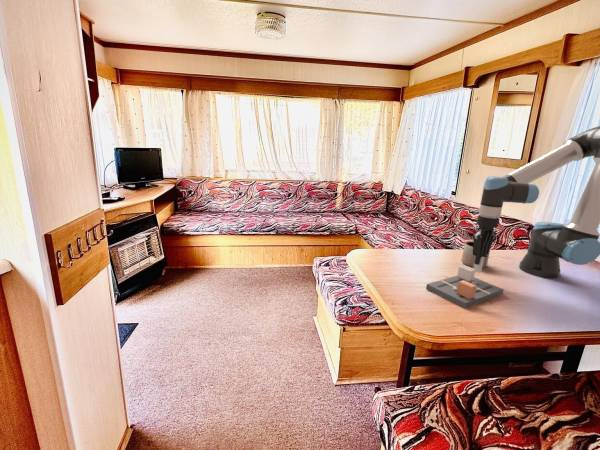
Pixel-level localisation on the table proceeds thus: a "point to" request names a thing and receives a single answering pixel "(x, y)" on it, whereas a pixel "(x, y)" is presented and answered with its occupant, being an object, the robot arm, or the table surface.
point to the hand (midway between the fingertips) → (476, 271)
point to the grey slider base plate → (449, 289)
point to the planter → (471, 255)
